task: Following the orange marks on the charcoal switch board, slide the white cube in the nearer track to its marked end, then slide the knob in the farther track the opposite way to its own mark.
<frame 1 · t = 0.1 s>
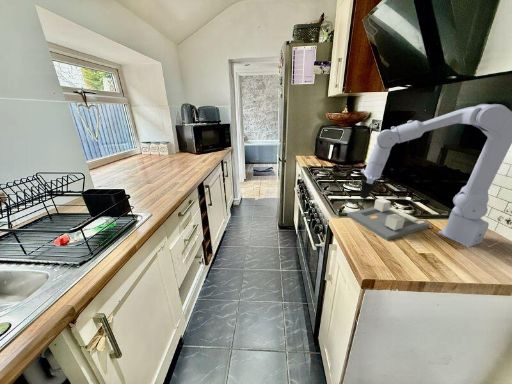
hand: (363, 194, 86), 10 cm above the worktop, tool pointing down, fingers open, 7 cm apart
white cube: (394, 221, 78), point 4 cm above the worktop, slide at 4.0 cm
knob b: (382, 204, 91), point 4 cm above the worktop, slide at -4.0 cm
switch unit: (385, 221, 86), on the worktop
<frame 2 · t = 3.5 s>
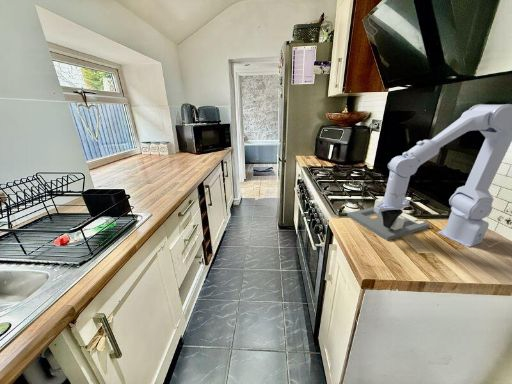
hand: (386, 226, 77), 3 cm above the worktop, tool pointing down, fingers closed
white cube: (394, 221, 78), point 4 cm above the worktop, slide at 4.0 cm, touching gripper
everything else where it was.
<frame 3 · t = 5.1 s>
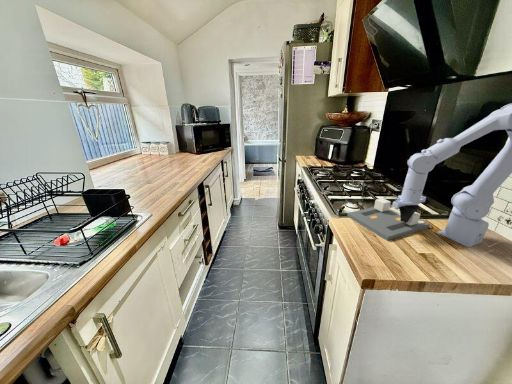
hand: (403, 221, 80), 3 cm above the worktop, tool pointing down, fingers closed
white cube: (410, 217, 81), point 4 cm above the worktop, slide at -4.3 cm, touching gripper
everything else where it was.
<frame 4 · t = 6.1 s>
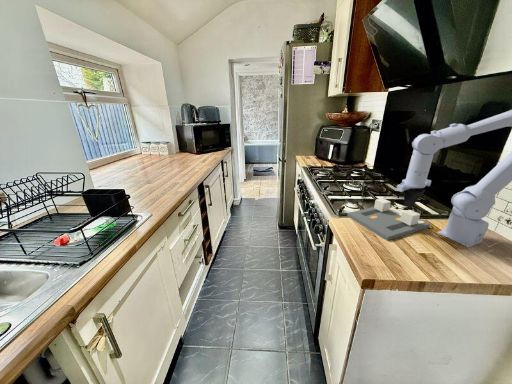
hand: (408, 206, 78), 9 cm above the worktop, tool pointing down, fingers closed
white cube: (409, 217, 81), point 4 cm above the worktop, slide at -4.1 cm
everything else where it was.
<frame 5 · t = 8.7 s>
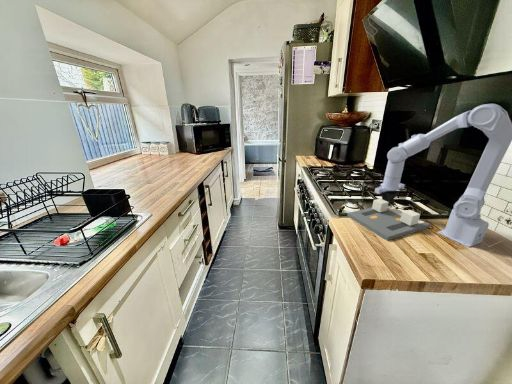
hand: (385, 206, 92), 3 cm above the worktop, tool pointing down, fingers closed
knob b: (380, 205, 91), point 4 cm above the worktop, slide at -2.9 cm, touching gripper
everything else where it was.
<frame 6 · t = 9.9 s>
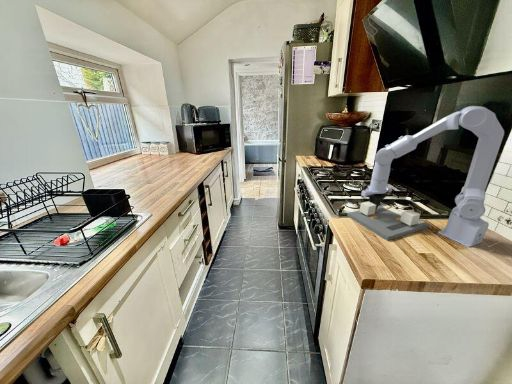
hand: (373, 209, 90), 3 cm above the worktop, tool pointing down, fingers closed
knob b: (367, 208, 89), point 4 cm above the worktop, slide at 4.1 cm, touching gripper
everything else where it was.
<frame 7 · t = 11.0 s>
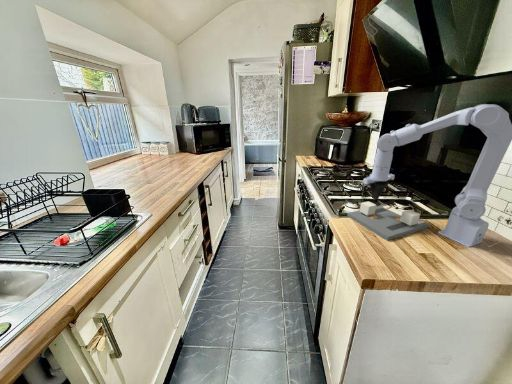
hand: (375, 197, 88), 8 cm above the worktop, tool pointing down, fingers closed
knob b: (367, 208, 89), point 4 cm above the worktop, slide at 4.1 cm
everything else where it was.
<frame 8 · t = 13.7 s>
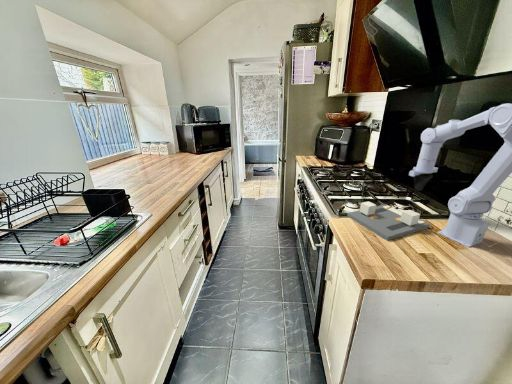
hand: (418, 189, 92), 9 cm above the worktop, tool pointing down, fingers closed
nothing on the worktop moved.
at the end: white cube slide at -4.1 cm; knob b slide at 4.1 cm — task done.
